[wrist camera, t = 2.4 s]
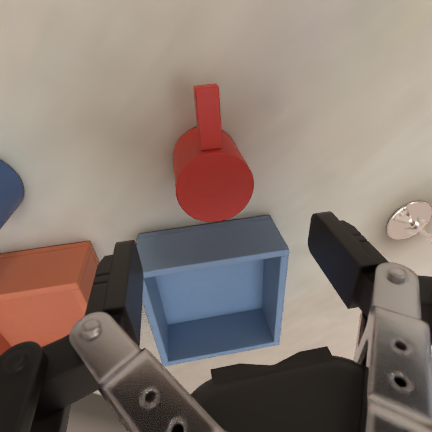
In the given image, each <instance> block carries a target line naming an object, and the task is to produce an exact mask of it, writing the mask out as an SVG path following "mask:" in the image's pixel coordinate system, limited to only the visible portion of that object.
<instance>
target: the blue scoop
mask: <svg viewBox="0 0 432 432" xmlns="http://www.w3.org/2000/svg"><path fill="white" fill-rule="evenodd" d="M23 197H24V187H23V184H22V181H21V179H20V178H19V176H18V175H17V173H16V172H15V171H14V170H13V169H12V168H11V167H10V166H9V165H7V164H6V163H4V162H3V161H1V160H0V229H1V228H2V226H3V225H4V224H5V223H6V221H7V220H8V219H9V217H10V216H11V215H12V214H13V212H14V211H15V210H16V208H17V207H18V206H19V205H20V203H21V202H22V200H23Z"/></svg>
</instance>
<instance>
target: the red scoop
mask: <svg viewBox="0 0 432 432" xmlns="http://www.w3.org/2000/svg"><path fill="white" fill-rule="evenodd" d="M193 88H194V98H195V107H196V117H197V127H195V128H193V129H191V130H189V131H187V132H186V133H185V134H183V135H182V136H181V137H180V139H179V140H178V142H177V143H176V145H175V148H174V152H173V163H174V175H175V187H176V196H177V200H178V202H179V204H180V206H181V208H182V209H183V210H184V211H185V212H186V213H187V214H188V215H190V216H191V217H193V218H195V219H197V220H200V221H205V222H219V221H224V220H227V219H229V218H231V217H233V216H235V215H237V214H238V213H239V212H240V211H242V210H243V209H244V207H245V206H246V205H247V204H248V202H249V200H250V198H251V196H252V193H253V188H254V180H253V175H252V173H251V170H250V169H249V167H248V165H247V164H246V162H245V160H244V159H243V157H242V155H241V154H240V152H239V150H238V149H237V147H236V145H235V144H234V142H233V140H232V139H231V137H230V136H229V135H228V134H227V133H226V132H224V131H223V130H221V116H220V98H219V87H218V85H217V84H207V85H197V86H194V87H193Z"/></svg>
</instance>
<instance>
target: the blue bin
mask: <svg viewBox="0 0 432 432" xmlns="http://www.w3.org/2000/svg"><path fill="white" fill-rule="evenodd" d="M137 250H138V253H139V257H140V261H141V264H142V268H143V277H144V281H143V297H142V302H143V305H144V308H145V311H146V314H147V317H148V320H149V323H150V326H151V330H152V333H153V336H154V339H155V342H156V345H157V348H158V351H159V354H160V358H161V361H162V364H163V366H168V365H174V364H179V363H184V362H190V361H195V360H200V359H206V358H211V357H216V356H221V355H227V354H232V353H237V352H243V351H248V350H253V349H259V348H264V347H269V346H275V345H279V342H280V332H281V323H282V313H283V303H284V294H285V284H286V274H287V265H288V255H289V248H288V246H287V245H286V243H285V241H284V239H283V238H282V236H281V234H280V232H279V230H278V229H277V227H276V225H275V223H274V222H273V220H272V218H271V216H270V215H266V216H259V217H252V218H245V219H239V220H232V221H225V222H218V223H211V224H204V225H197V226H190V227H183V228H177V229H170V230H163V231H156V232H149V233H142V234H138V239H137Z"/></svg>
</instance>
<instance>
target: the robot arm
mask: <svg viewBox="0 0 432 432" xmlns="http://www.w3.org/2000/svg"><path fill="white" fill-rule="evenodd" d="M308 247H309V250H310V253H311V254H312V256H313V257H314V259H315V260H316V262H317V263H318V265H319V266H320V268H321V269H322V271H323V272H324V274H325V275H326V277H327V278H328V280H329V281H330V283H331V284H332V286H333V287H334V289H335V290H336V292H337V293H338V295H339V296H340V298H341V299H342V300H343V302H344V303H345V305H346V306H347V308H348V309H350V308H355V307H359V308H360V309H361V311H362V312H361V315H360V320H359V327H358V335H357V342H356V349H355V355H354V359H353V361H352V360H350V359H347V358H343V357H338V356H332V355H331V353H330V351H329V349H328V347H322V348H317V349H312V350H306V351H301V352H298V353H296V354H294V355H292V356H291V357H289V358H287V359H285V360H283V361H281V362H279V363H277V364H275V365H254V364H236V365H231V366H226V367H221V368H216V369H211V375H212V379H211V380H209V381H207V382H205V383H204V384H202V385H201V386H199V387H198V388H197V389H196V390H195V391H194V392H193V393H192V394H191V395H190V394H189V393H188V392H187V391H186V390H185V389H184V388H183V386H182V385H181V384H180V383H179V382H178V381H177V380H176V379H175V378H174V377H173V376H172V375H171V374H170V373H169V372H168V371H167V369H166V368H165V367H164V366H163V365H162V364H161V363H160V362H159V361H158V360H157V359H156V358H155V357H154V356H153V355H152V353H151V352H149V351H148V350H147V349H145V348H144V349H141V348H140V347H139V345H140V329H141V313H142V297H143V281H144V277H143V268H142V264H141V261H140V257H139V253H138V250H137V246H136V243H135V241H134V240H130V241H123V242H117V243H116V244H115V249H114V254H113V255H109V256H105V257H104V258H103V259H102V260H101V262H100V263H99V264H98V266H97V269H96V273H95V277H94V281H93V285H92V289H91V293H90V296H89V300H88V304H87V308H86V312H85V315H84V317H82V318H81V319H80V320H78V321H77V322H76V323H75V325H74V326H73V327H72V329H71V331H70V334H68V335H67V336H65V337H63V338H61V339H59V340H57V341H54V342H52V343H50V344H48V345H45V346H43V347H40V345H39V344H38V343H36V342H33V341H26V342H22V343H19V344H16V345H14V346H12V347H11V348H9V349H8V350H6V351H5V352H4V353H3V354H1V355H0V432H66V429H67V424H68V418H69V413H70V407H71V404H72V403H73V402H76V401H78V400H79V399H81V398H83V397H85V396H87V395H89V394H91V393H93V392H94V391H96V390H99V392H100V393H101V395H102V396H103V398H104V399H105V400H106V402H107V403H108V405H109V406H110V407H111V409H112V411H113V412H114V413H115V415H116V417H117V418H118V419H119V421H120V422H121V424H122V425H123V427H124V428H125V430H126V431H127V432H432V352H431V345H432V277H428V276H417V275H416V274H415V273H414V272H413V271H412V270H411V269H409V268H407V267H405V266H403V265H401V264H397V263H391V262H388V261H387V260H386V259H385V258H384V257H383V256H382V255H381V254H380V253H379V252H378V251H377V250H376V249H375V248H374V247H373V246H372V245H371V244H370V243H369V241H367V239H366V238H365V237H364V236H363V235H361V233H360V232H359V231H358V230H357V229H356V228H355V227H354V226H352V225H350V224H349V223H347V222H345V221H343V220H342V221H339V220H338V218H337V217H336V216H335V215H334V214H333V213H332V212H330V211H329V212H322V213H315V214H313V215H312V217H311V223H310V230H309V237H308Z"/></svg>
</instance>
